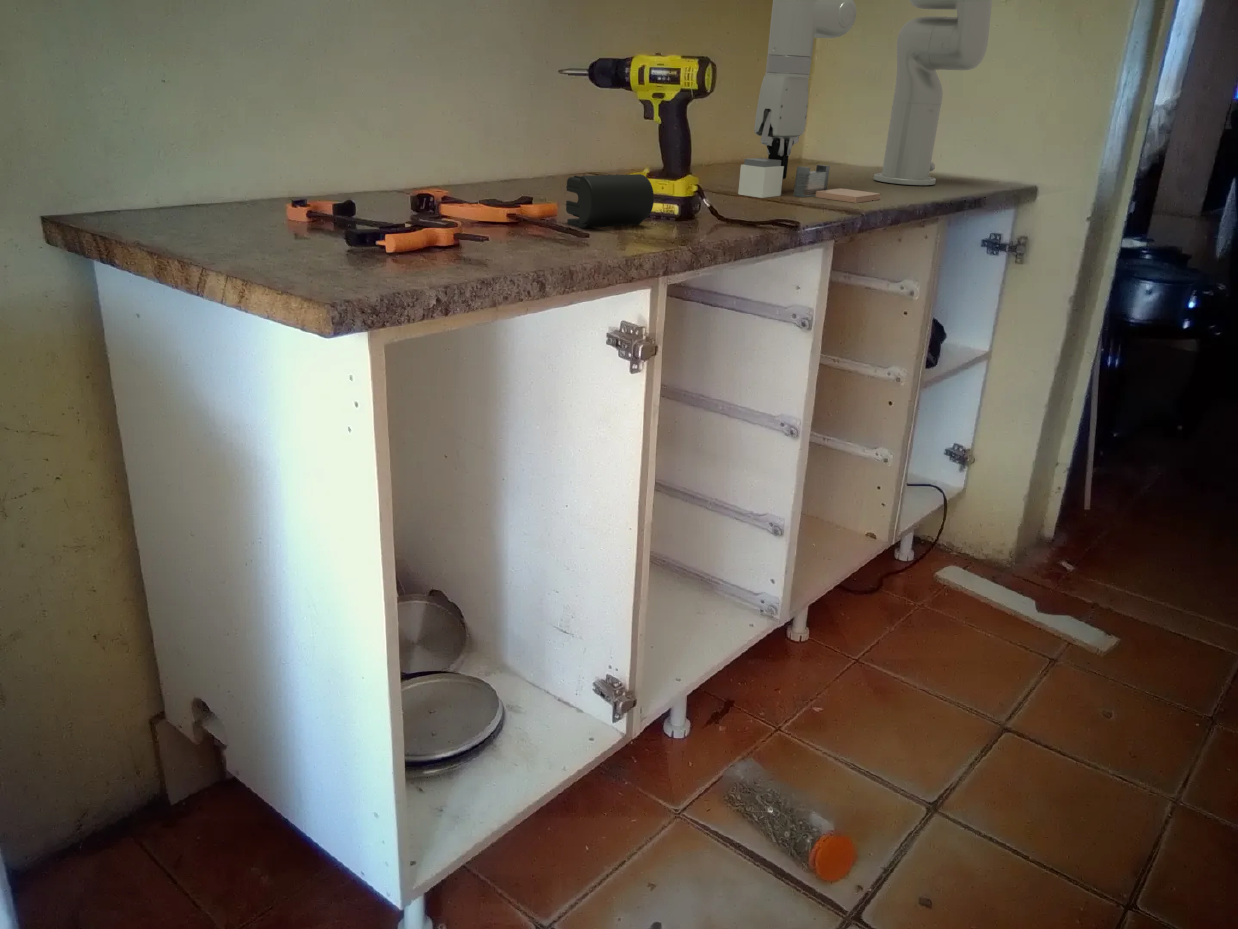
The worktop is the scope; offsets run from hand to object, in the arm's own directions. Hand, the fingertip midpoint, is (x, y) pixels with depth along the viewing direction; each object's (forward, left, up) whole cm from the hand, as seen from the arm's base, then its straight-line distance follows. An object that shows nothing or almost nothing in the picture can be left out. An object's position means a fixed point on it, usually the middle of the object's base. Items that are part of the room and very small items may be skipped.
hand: (776, 177), depth 170 cm
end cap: (+54, +8, -3) cm, 55 cm away
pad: (-7, +11, -3) cm, 13 cm away
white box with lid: (+5, 0, -3) cm, 6 cm away
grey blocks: (-4, 0, -3) cm, 5 cm away
